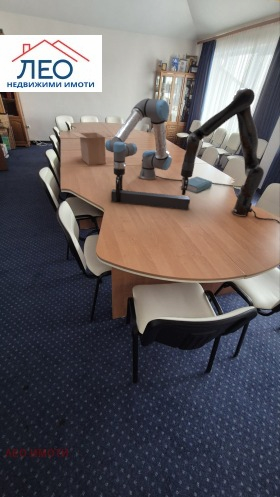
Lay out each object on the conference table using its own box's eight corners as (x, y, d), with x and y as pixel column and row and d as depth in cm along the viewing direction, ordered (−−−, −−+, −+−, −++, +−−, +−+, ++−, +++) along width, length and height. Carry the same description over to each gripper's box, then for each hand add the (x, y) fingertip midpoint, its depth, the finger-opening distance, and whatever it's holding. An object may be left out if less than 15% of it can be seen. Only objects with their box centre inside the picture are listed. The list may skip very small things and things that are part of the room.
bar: (111, 201, 158) (111, 191, 154) (112, 199, 163) (112, 189, 158) (188, 209, 156) (190, 199, 151) (187, 206, 160) (189, 196, 155)
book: (195, 181, 203) (197, 176, 200) (211, 187, 194) (212, 181, 191) (181, 187, 190) (182, 181, 187) (196, 193, 181) (197, 187, 178)
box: (116, 165, 229) (116, 136, 213) (83, 168, 214) (80, 137, 198) (102, 154, 259) (101, 128, 243) (71, 156, 244) (68, 129, 228)
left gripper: (122, 172, 139) (122, 206, 152) (127, 164, 153) (126, 196, 167) (110, 171, 139) (111, 205, 153) (116, 163, 154) (116, 195, 167)
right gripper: (194, 172, 136) (189, 197, 145) (192, 166, 147) (187, 189, 157) (182, 171, 136) (177, 196, 146) (181, 164, 148) (177, 188, 157)
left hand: (119, 200), depth 160 cm, fingers closed on bar, 5 cm apart
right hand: (182, 192), depth 151 cm, fingers open, 8 cm apart
